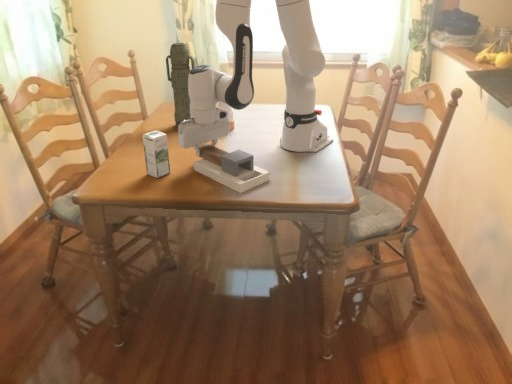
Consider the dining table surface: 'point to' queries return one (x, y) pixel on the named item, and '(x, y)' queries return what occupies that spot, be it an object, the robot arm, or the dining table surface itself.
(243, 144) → the dining table surface
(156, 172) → the syrup box
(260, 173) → the board
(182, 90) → the thermos
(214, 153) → the bar
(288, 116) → the robot arm
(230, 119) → the pepper shaker
